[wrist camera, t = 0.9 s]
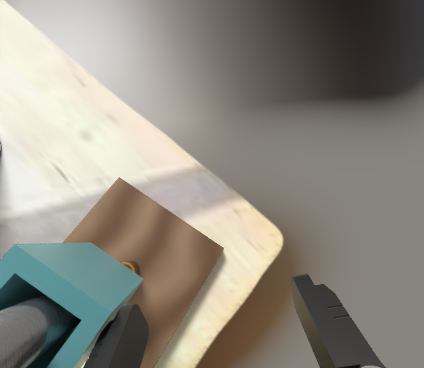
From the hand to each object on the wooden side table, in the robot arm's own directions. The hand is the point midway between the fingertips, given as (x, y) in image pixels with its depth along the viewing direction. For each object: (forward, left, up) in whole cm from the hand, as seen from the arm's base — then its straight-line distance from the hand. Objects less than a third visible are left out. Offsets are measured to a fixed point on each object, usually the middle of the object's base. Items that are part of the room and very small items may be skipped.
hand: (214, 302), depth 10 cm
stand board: (-5, -6, -20) cm, 22 cm away
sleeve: (-5, -6, -8) cm, 11 cm away
